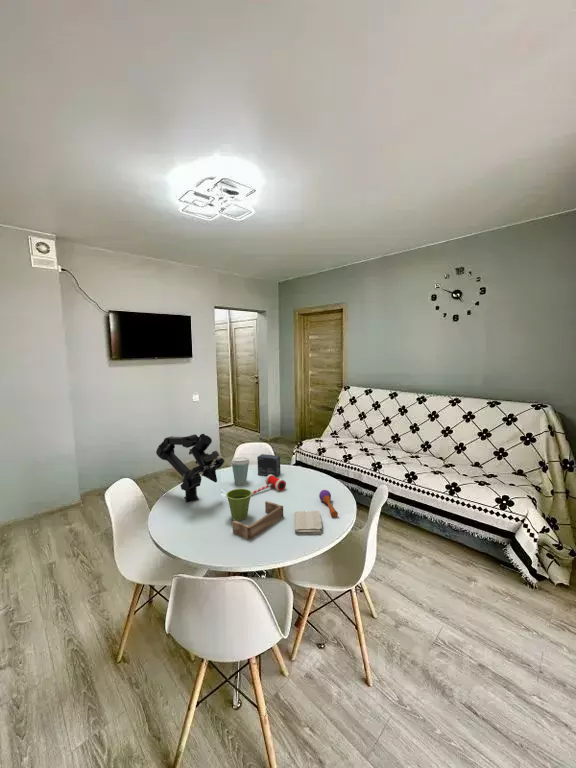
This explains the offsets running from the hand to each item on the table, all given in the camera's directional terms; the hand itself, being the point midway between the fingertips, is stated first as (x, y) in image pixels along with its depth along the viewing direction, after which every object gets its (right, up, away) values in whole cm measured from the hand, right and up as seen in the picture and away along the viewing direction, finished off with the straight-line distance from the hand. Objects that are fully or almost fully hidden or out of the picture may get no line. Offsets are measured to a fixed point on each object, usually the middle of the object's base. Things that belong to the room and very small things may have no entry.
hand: (216, 481), depth 158 cm
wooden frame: (+22, -14, -14) cm, 30 cm away
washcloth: (+44, -15, -15) cm, 48 cm away
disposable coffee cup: (+7, -11, +33) cm, 35 cm away
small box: (+23, -10, +45) cm, 52 cm away
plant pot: (+13, -14, -7) cm, 20 cm away
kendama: (+55, -13, 0) cm, 56 cm away
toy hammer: (+24, -12, +22) cm, 34 cm away
